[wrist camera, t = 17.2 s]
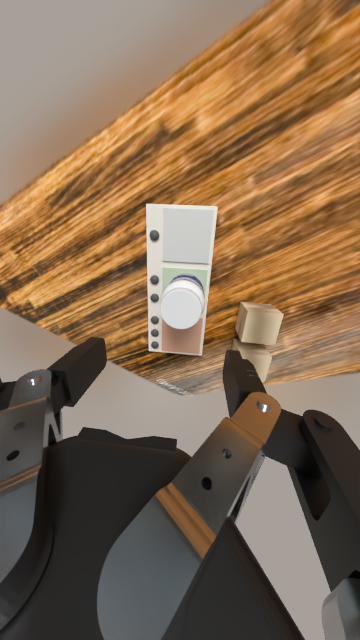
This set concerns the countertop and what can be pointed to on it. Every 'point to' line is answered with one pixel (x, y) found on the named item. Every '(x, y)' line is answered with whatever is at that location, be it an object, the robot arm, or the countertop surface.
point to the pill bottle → (182, 301)
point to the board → (177, 268)
